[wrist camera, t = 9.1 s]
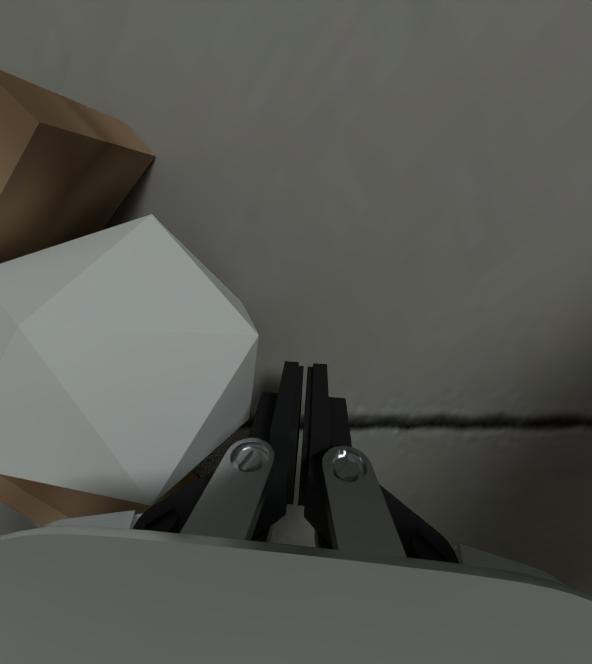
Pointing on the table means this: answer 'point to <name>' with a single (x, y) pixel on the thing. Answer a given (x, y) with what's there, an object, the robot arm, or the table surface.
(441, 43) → the table surface
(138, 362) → the die
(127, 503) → the bracket
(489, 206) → the table surface
